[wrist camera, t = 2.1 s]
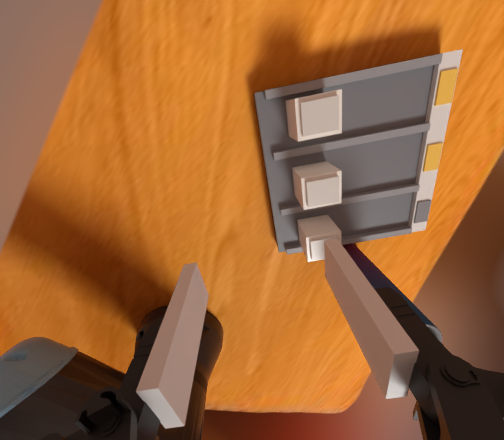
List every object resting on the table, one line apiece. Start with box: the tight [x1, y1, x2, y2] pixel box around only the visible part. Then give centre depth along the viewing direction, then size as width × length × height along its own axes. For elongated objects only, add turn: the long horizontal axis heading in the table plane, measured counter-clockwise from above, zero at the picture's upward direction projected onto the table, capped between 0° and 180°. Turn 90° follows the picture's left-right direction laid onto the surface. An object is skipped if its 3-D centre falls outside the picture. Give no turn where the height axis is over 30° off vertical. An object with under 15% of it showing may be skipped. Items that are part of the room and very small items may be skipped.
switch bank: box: [254, 49, 463, 254], centre depth 27 cm, size 20×20×3 cm
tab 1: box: [285, 89, 342, 142], centre depth 21 cm, size 4×4×5 cm
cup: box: [342, 243, 442, 342], centre depth 28 cm, size 7×7×15 cm
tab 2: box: [297, 214, 341, 262], centre depth 27 cm, size 4×4×5 cm
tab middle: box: [292, 161, 342, 210], centre depth 24 cm, size 4×4×5 cm
